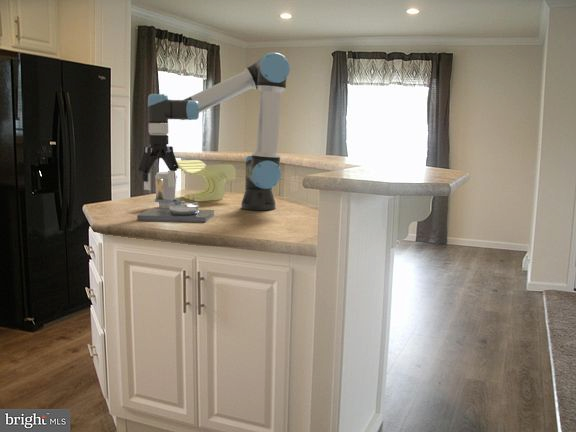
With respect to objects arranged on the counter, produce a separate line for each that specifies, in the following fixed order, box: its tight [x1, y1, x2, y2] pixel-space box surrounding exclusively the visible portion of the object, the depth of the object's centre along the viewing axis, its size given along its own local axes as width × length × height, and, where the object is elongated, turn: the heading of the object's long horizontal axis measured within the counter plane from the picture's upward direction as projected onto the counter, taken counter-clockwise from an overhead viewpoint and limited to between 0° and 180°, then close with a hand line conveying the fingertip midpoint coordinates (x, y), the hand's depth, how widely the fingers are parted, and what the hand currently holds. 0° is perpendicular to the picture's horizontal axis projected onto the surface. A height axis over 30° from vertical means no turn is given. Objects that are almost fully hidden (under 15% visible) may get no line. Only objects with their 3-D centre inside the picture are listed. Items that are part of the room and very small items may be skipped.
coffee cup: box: [154, 171, 178, 209], centre depth 238 cm, size 10×10×15 cm
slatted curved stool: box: [176, 159, 237, 202], centre depth 267 cm, size 30×16×18 cm, turn 39°
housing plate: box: [136, 208, 215, 223], centre depth 214 cm, size 26×17×2 cm, turn 87°
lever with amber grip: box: [154, 178, 200, 215], centre depth 214 cm, size 20×11×12 cm, turn 60°
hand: (159, 188), depth 218 cm, fingers open, 13 cm apart
